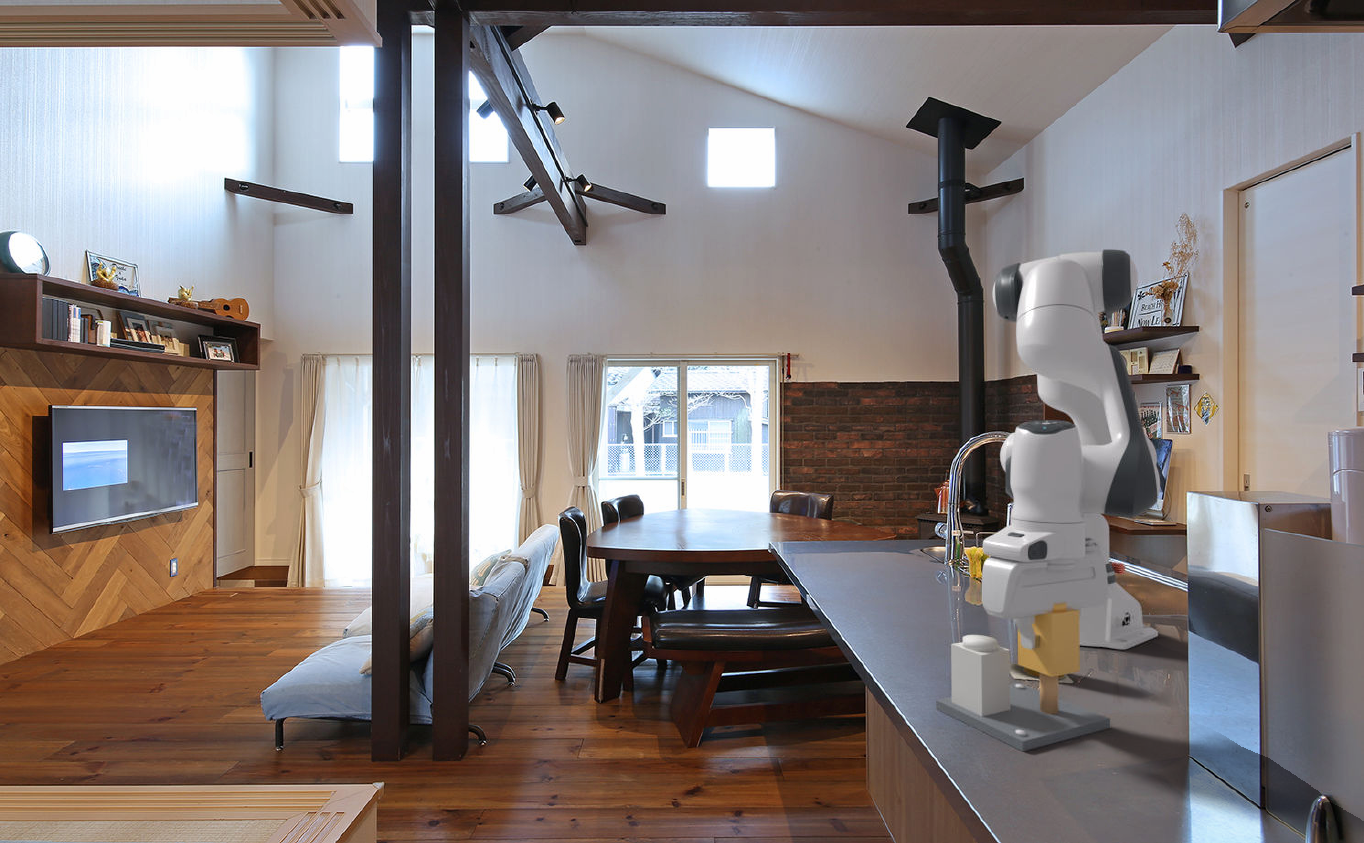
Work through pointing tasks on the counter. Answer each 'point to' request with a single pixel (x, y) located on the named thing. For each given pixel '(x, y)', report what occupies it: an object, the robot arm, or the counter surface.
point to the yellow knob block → (1054, 643)
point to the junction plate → (1010, 699)
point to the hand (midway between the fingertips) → (1047, 644)
